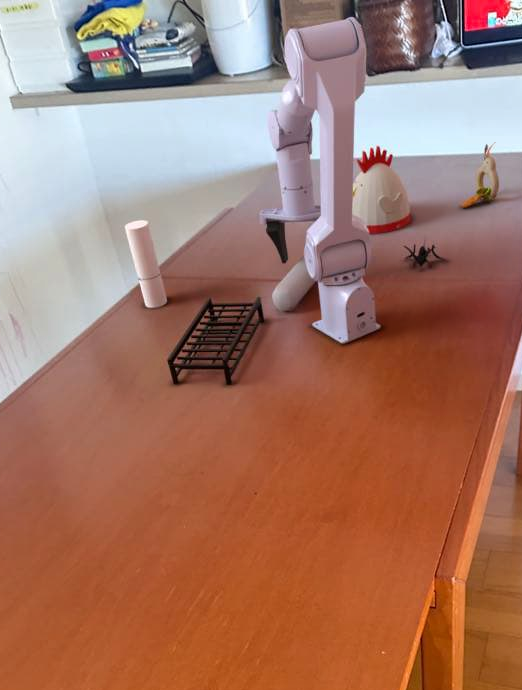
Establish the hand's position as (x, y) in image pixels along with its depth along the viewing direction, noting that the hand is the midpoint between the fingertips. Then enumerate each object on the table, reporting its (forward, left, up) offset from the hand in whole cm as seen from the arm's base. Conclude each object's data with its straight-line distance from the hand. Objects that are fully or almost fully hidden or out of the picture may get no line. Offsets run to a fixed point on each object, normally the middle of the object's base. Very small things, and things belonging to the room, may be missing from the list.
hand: (304, 260), depth 142 cm
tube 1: (+16, +25, -5) cm, 30 cm away
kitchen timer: (+16, -29, -5) cm, 33 cm away
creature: (-9, -21, -5) cm, 23 cm away
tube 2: (0, 0, -5) cm, 5 cm away
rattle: (+8, -50, -5) cm, 51 cm away
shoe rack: (-11, +25, -5) cm, 28 cm away
